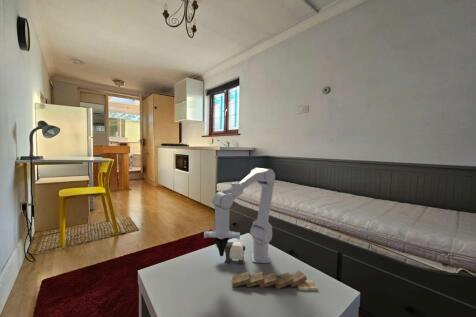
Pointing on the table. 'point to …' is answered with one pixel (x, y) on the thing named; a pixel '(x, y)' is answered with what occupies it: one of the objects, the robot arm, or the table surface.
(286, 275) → the d4
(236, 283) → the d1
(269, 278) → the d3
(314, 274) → the table surface
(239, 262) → the giant panda
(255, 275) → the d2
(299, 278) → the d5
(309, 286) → the maple tile
